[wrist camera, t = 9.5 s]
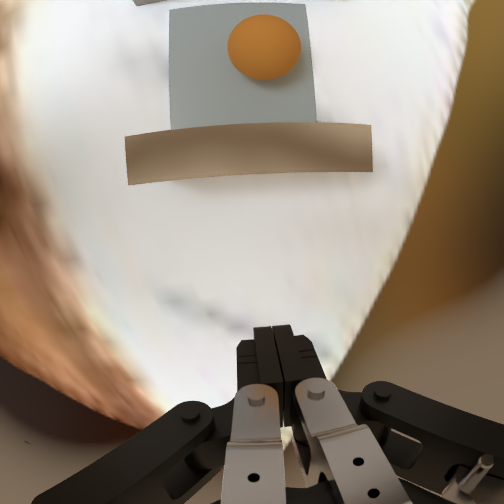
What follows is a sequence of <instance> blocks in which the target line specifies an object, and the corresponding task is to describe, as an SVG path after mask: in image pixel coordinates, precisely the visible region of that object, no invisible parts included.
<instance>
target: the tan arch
mask: <svg viewBox="0 0 504 504" xmlns="http://www.w3.org/2000/svg"><path fill="white" fill-rule="evenodd" d="M125 149H126V164H127V176H128V185H135V184H143V183H152V182H161V181H170V180H180V179H190V178H202V177H214V176H228V175H243V174H262V173H287V172H373V166H372V135H371V125H362V124H345V123H318V122H274V123H246V124H228V125H215V126H203V127H193V128H183V129H175V130H167V131H159V132H152V133H145V134H139V135H133V136H127V137H125Z"/></svg>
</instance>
